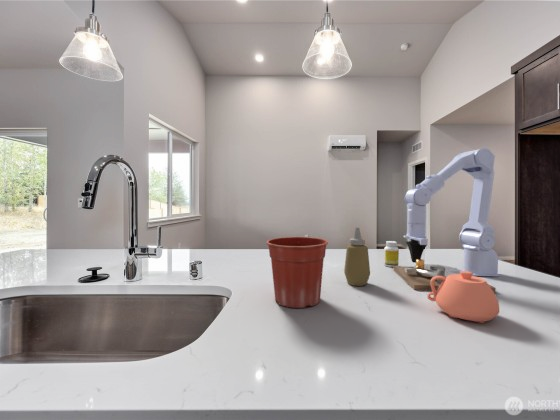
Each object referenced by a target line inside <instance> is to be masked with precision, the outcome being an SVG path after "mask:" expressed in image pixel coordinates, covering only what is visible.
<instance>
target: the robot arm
mask: <svg viewBox="0 0 560 420" xmlns="http://www.w3.org/2000/svg"><path fill="white" fill-rule="evenodd" d="M495 158H496V155H495V154H494V153H493V152H492V151H491V149H489V148H488V147H482V148H479V149H474V150H470V151H469V150H468V151H463V152H460V153H458V154H457V155H455V156H454V157H453V159H452V160H451V161H450V162H449V163H448V164H447V165H445V167H444V168H442V169H441V170H440V171H439V172H438V173H437V174H435V173H434V174H429V175H428V174H427V176H425V179H424V180H423V181H421V182H420V183H417V184H416V185H415V187H414V188H411V189H409V190H407V191H406V194H405V196H404V197H403V200H404V202H405V204H406V209H407V212H406V213H407V217H406V219H407V227H406V230H407V231H406V234H405V235H403V238H405V239H407V241H405V243H406V246H407V248H408V250H409V254H410V259H411V262H412V263H415V264H416V259H421V258H422V255H423V252H424V250H425V249H426V247H427V246H428V238H427V236H426V233H427V232H426V229H427V227H426V226H427V204H429V203H430V201H431V199H432V197H433V196H434V195H435V194H437V193H438V192H439V191H440V190H441V189H442V188H444V186H445V182H446V181H447V180H448V179H450V178H451V177H453V176H454V175H456V174H457V173H458V172H459V171H461V170H462V171H464V172H465V173H467V174H468V175H470V176H471V177H472V178H474V179H473V187H472V192H471V195H472V196H471V202H470V210H469V218H468V221H467V222H466V223H464V224H463V225H462V228H461V231H460V233H459V235H458V240H459V243H461V245H462V248H463V268H458V269H459V270H461V271H469V272H472V273H473V275H472V276H476V277H500V274H499V273H498V271H499V269H498V268H499V257H498V253H497V252H496V251H495V250H494V249H492V248H493V247H494V246H495V244H496V238H495V229H494V227H493V226H491V225H490V224H489V215H490V214H489V213H490V208H491V200H492V191H493V187H494V179H495V170H494V164H495ZM408 239H409V241H408Z"/></svg>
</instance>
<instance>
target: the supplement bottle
mask: <svg viewBox="0 0 560 420" xmlns="http://www.w3.org/2000/svg"><path fill="white" fill-rule="evenodd" d="M385 245H386V246H385V247H384V248H383V251H384V252H383V265H384V266H385V267H387V268H393V266H399V256H400V255H399V254H400V253H399V247H398V242H397V241H395V240H386V241H385Z"/></svg>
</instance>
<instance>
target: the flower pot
mask: <svg viewBox="0 0 560 420" xmlns="http://www.w3.org/2000/svg"><path fill="white" fill-rule="evenodd" d="M328 244H329V240H327V239H324V238H320V237H311V236H289V237H288V236H287V237H286V236H285V237H283V236H282V237H275V238H271V239H268V240H267V241H266V245H267V246H268V251H269V258H271V260H270V261H271V270H272V272H271V273H272V280H273V290H274V301H275V302H277V303H278V304H279V305H281V306H283V307H287V308H291V309H305V308H306V307H308V306H310V307H314V306H316V305H318V304H319V303H320V301H321V294H322V279H323V272H324V271H323V270H324V269H323V268H324V261H325V256H326V252H327V251H326V250H327V245H328Z"/></svg>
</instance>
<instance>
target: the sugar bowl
mask: <svg viewBox="0 0 560 420" xmlns="http://www.w3.org/2000/svg"><path fill="white" fill-rule="evenodd" d="M472 275H473V273H472V272H469V271H460V274H451V275H449V276H447V277H446V278H445V277H443V276H435V277H433V278H432V279H431V282H430V284H431V288H432V292H431V291H430V292H428V293H427V299H428V300H430V301H431V302H436V304H437V306H438V307H439V308H440V310H441V311H442V312H444V313H446V314H447V315H448V317H450V318H453V319H454V318H455V319H458V318H459V319H461V320H465V321H470V322H475V323H480V324H484V323H485V322H489V321H491V320H493V319H494V318H496V317H497V316H499V313H500V304H499V300H498V298H497V296H496V293H494V292H493V290H492V289H491V287H490V286H489V285H490V284H489V283H488V282H487V281H486V280H485V279H484V278H482V277H480V276H472ZM436 279H442V280H444V281H443V282H442V283H441V285H440V286H439V288H438V290H437V291H436V290H435V287H434V281H435V280H436ZM488 284H489V285H488ZM431 295H433V297H432V296H431Z"/></svg>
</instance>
